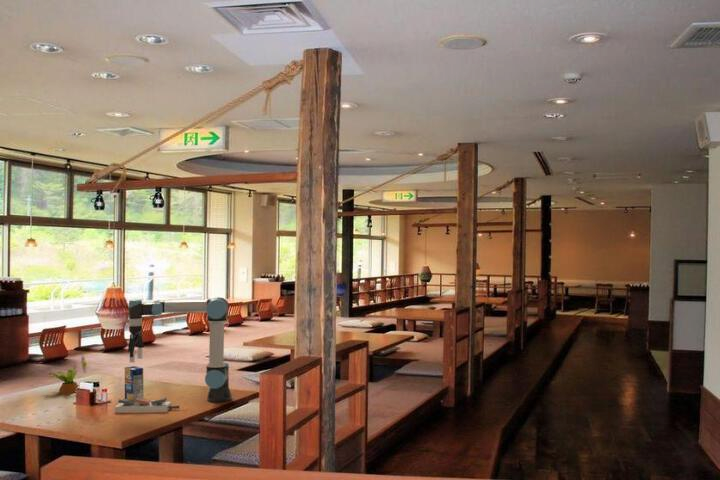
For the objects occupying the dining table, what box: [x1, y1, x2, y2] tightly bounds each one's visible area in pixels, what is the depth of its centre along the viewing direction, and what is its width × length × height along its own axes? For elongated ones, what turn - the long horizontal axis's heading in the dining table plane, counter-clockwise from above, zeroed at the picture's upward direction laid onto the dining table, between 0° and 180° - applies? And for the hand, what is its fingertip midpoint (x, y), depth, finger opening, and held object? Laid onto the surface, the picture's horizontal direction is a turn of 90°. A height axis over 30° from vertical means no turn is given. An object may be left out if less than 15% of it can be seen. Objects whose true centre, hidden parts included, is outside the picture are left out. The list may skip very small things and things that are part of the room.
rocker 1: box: [118, 397, 135, 405], centre depth 397 cm, size 8×4×2 cm, turn 91°
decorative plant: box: [48, 355, 88, 395], centre depth 452 cm, size 27×24×25 cm
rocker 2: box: [135, 398, 152, 405], centre depth 397 cm, size 8×4×2 cm, turn 91°
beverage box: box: [124, 365, 144, 401], centre depth 416 cm, size 7×11×22 cm, turn 45°
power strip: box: [114, 401, 180, 414], centre depth 399 cm, size 36×11×4 cm, turn 91°
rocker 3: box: [151, 397, 167, 405], centre depth 397 cm, size 8×4×2 cm, turn 91°
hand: (136, 360), depth 408 cm, fingers open, 13 cm apart
